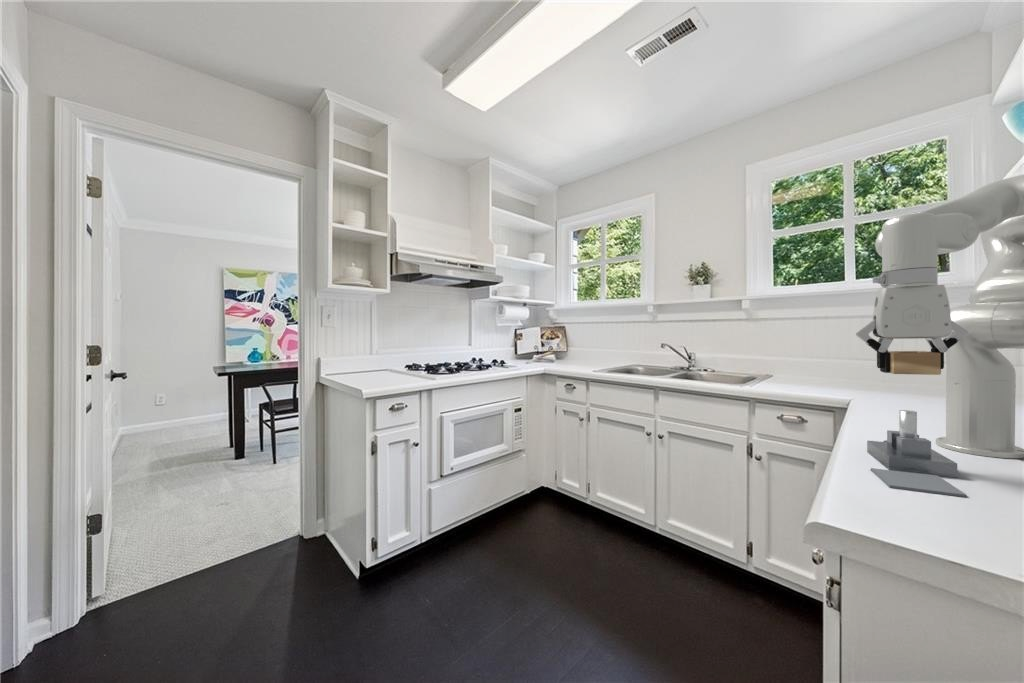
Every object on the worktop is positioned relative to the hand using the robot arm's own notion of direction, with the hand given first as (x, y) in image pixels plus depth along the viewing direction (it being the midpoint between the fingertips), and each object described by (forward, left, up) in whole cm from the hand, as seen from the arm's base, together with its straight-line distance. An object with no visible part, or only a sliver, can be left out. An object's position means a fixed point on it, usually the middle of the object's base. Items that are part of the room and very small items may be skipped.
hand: (909, 371), depth 75 cm
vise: (-2, 0, -18) cm, 18 cm away
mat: (+12, -3, -18) cm, 22 cm away
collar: (0, 0, 0) cm, 0 cm away
